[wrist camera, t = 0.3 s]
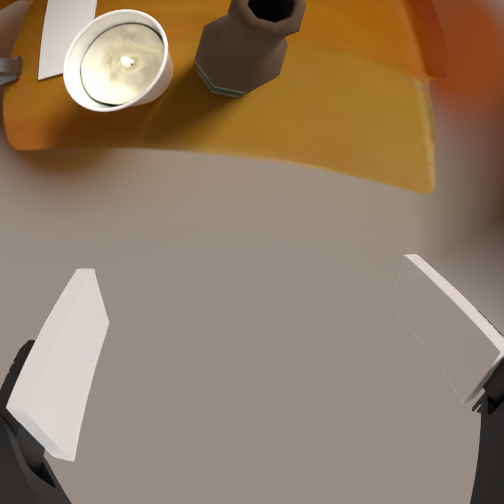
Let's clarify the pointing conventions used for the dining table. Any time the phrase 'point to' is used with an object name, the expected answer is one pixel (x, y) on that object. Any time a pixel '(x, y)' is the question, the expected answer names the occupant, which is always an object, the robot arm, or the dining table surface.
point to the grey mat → (62, 32)
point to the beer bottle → (247, 45)
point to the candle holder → (118, 62)
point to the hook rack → (10, 69)
